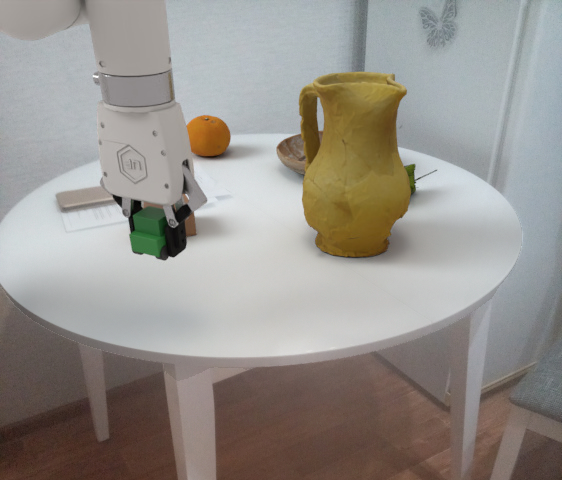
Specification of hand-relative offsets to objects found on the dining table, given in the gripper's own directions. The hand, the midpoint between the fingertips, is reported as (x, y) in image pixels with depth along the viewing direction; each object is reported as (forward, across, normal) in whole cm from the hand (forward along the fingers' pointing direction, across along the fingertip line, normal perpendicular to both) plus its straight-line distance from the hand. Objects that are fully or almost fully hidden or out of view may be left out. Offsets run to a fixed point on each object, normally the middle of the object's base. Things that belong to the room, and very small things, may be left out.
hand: (159, 247), depth 70 cm
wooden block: (+10, -16, +23) cm, 30 cm away
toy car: (0, 0, 0) cm, 0 cm away
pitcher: (+10, +15, +33) cm, 37 cm away
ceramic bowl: (+10, 0, +63) cm, 64 cm away
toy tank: (+10, +20, +55) cm, 59 cm away
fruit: (+11, -30, +62) cm, 69 cm away
